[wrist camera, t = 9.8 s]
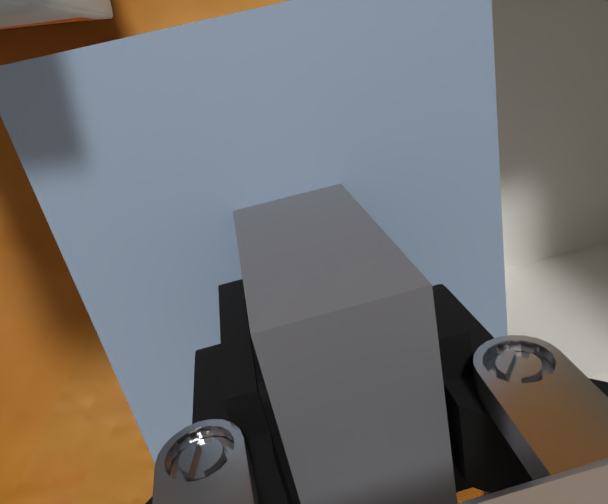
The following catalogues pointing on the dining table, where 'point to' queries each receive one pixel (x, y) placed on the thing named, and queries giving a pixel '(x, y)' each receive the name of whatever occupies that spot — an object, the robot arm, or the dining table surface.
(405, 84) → the flap
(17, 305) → the dining table surface
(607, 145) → the carton
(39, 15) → the skincare box
